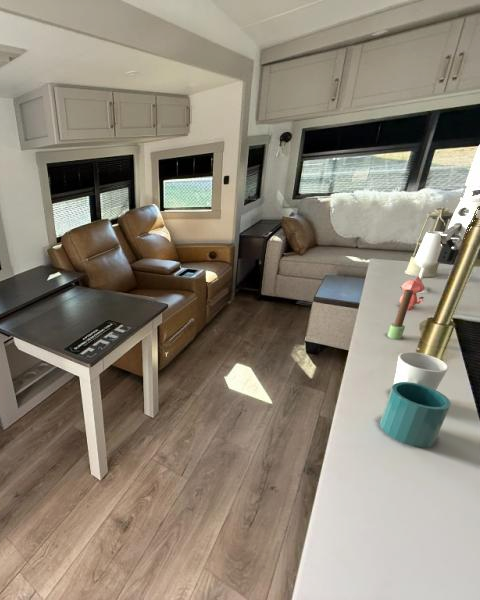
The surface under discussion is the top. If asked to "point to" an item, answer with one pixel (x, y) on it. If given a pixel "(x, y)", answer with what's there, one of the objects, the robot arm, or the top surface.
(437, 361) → the cup
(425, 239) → the champagne flute
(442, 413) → the tumbler
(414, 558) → the top surface
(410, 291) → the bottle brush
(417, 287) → the cat figurine
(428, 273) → the lamp
